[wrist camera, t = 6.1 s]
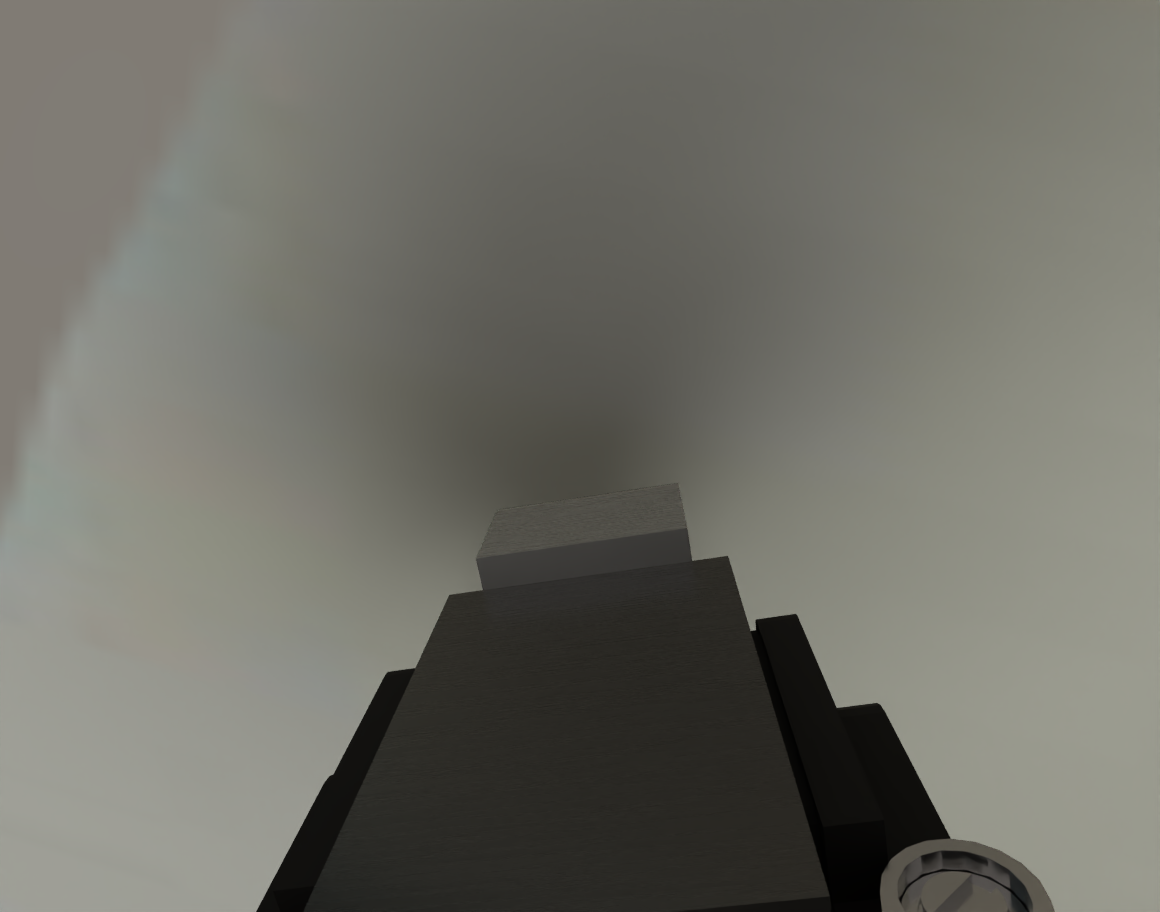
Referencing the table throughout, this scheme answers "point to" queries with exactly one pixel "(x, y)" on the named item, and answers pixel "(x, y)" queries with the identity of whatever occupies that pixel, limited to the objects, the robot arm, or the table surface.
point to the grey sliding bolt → (583, 737)
